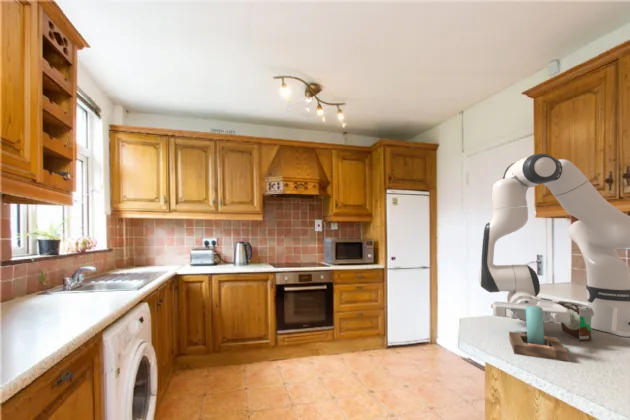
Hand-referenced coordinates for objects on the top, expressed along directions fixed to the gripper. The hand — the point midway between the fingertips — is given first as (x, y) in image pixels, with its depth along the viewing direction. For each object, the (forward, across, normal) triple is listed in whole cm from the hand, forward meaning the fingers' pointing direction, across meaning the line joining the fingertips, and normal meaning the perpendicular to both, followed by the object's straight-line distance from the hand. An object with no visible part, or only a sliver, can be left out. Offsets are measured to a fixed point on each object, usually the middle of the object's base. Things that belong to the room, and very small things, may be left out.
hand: (533, 318), depth 91 cm
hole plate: (+3, 0, +8) cm, 9 cm away
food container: (-16, +15, +8) cm, 23 cm away
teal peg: (+3, 0, +8) cm, 9 cm away
